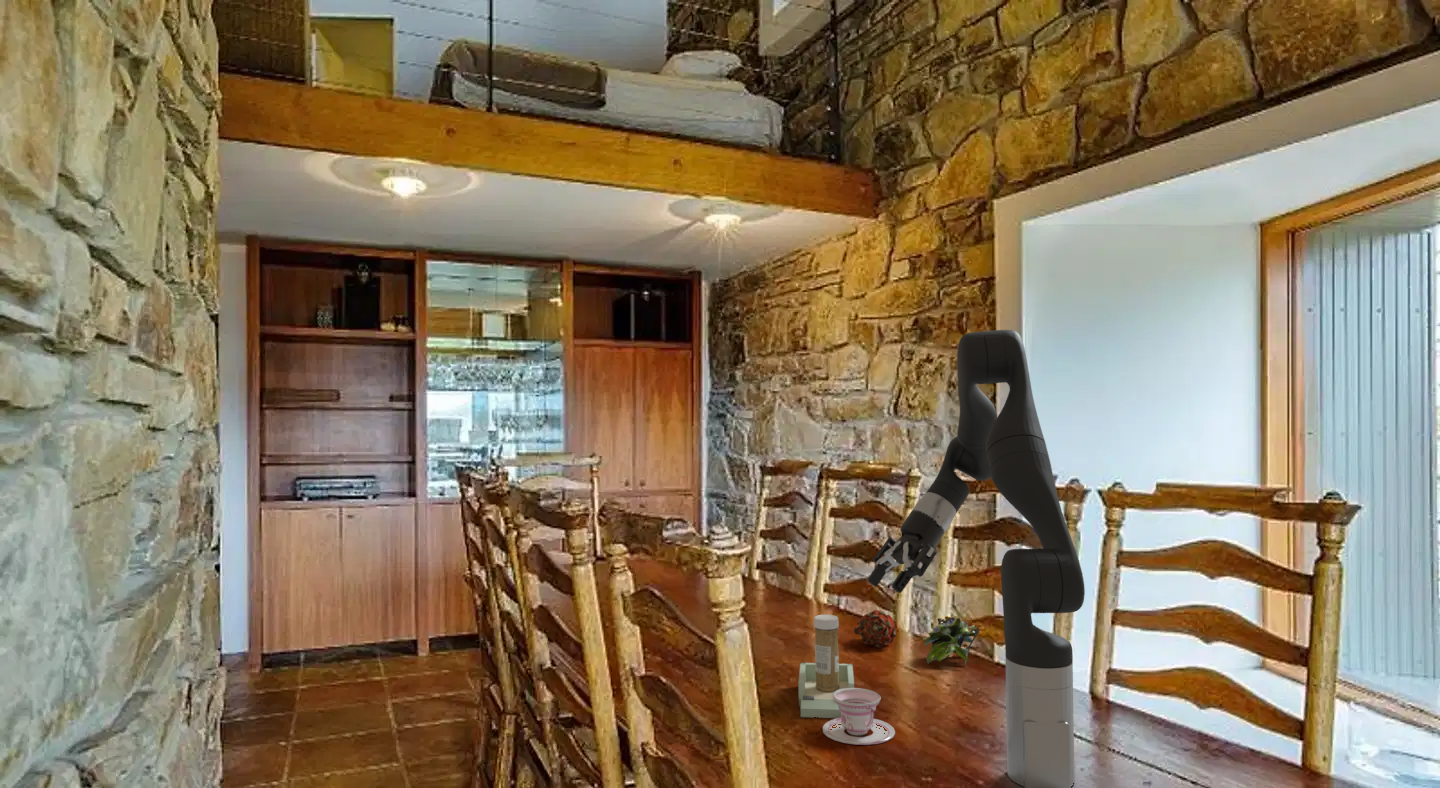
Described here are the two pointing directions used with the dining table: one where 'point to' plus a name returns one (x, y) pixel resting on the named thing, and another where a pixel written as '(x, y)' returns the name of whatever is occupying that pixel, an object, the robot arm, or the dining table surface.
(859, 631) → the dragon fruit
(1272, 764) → the dining table surface
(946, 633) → the passion flower
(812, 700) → the crate
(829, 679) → the sprinkles bottle
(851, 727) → the teacup
